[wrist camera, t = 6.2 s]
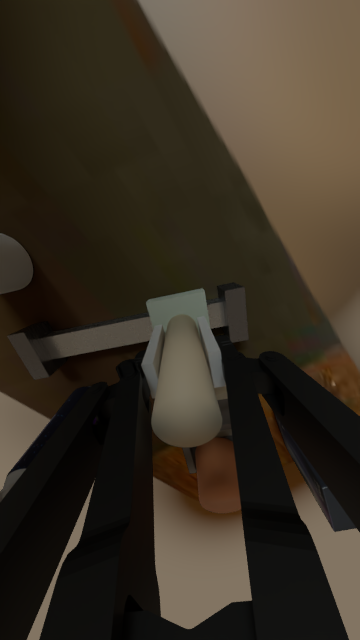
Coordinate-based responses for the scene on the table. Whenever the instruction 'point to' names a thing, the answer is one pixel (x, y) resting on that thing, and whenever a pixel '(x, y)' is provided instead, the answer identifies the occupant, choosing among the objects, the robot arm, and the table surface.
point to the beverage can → (42, 440)
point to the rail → (118, 333)
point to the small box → (317, 485)
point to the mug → (13, 265)
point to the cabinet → (223, 433)
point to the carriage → (183, 373)
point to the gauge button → (217, 476)
